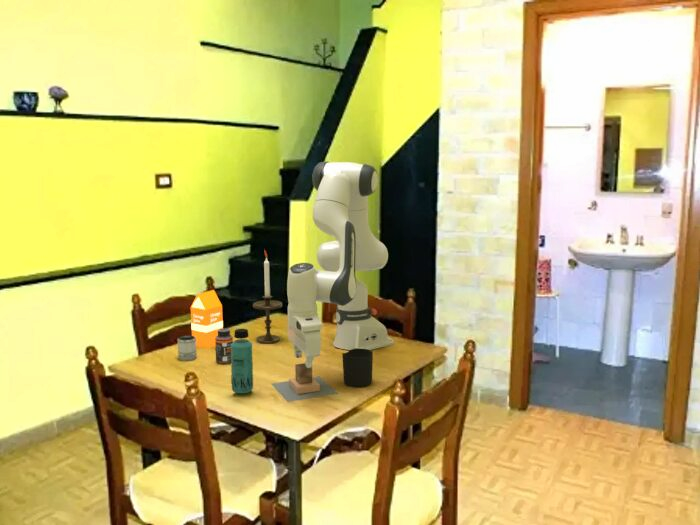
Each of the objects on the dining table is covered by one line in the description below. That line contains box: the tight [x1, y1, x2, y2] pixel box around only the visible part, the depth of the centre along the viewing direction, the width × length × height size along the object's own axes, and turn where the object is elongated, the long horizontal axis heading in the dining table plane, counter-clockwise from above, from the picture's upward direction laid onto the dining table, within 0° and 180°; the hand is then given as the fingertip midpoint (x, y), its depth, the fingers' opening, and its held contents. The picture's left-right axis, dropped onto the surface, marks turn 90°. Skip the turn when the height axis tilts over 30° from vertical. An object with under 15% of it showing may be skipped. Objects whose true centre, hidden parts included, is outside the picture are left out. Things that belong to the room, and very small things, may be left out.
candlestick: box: [252, 249, 283, 345], centre depth 250 cm, size 11×11×35 cm
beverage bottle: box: [230, 328, 254, 394], centre depth 197 cm, size 6×7×20 cm
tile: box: [288, 377, 320, 394], centre depth 202 cm, size 7×2×8 cm
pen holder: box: [341, 348, 374, 389], centre depth 206 cm, size 9×9×10 cm
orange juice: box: [190, 289, 224, 349], centre depth 247 cm, size 8×9×20 cm
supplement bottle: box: [214, 328, 234, 365], centre depth 228 cm, size 6×6×11 cm
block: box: [294, 362, 313, 384], centre depth 202 cm, size 4×4×5 cm
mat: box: [271, 376, 339, 403], centre depth 202 cm, size 16×16×1 cm
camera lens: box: [177, 334, 197, 362], centre depth 232 cm, size 6×6×8 cm
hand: (303, 362), depth 202 cm, fingers open, 8 cm apart
